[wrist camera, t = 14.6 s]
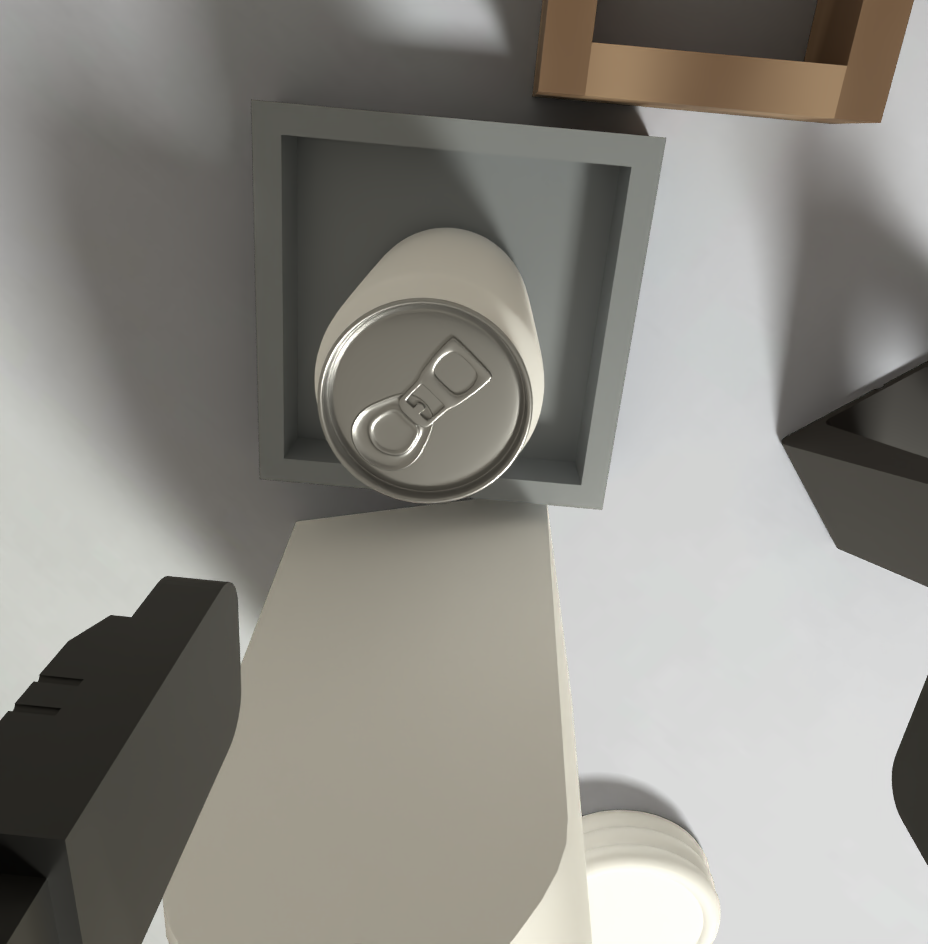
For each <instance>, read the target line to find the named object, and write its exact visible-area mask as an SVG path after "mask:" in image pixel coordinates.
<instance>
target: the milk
mask: <svg viewBox="0 0 928 944" xmlns="http://www.w3.org/2000/svg"><path fill="white" fill-rule="evenodd" d="M240 668H241V704H240V712H239V718H238V723H237V727H236V731H235V734H234V738H233V741H232V743H231V746H230V748H229V751H228V753H227V755H226V757H225V759H224V762H223V764H222V766H221V768H220V771H219V773H218V775H217V777H216V779H215V782H214V784H213V786H212V788H211V791H210V793H209V795H208V797H207V799H206V802H205V804H204V806H203V808H202V811H201V813H200V815H199V817H198V819H197V822H196V824H195V826H194V828H193V831H192V833H191V835H190V837H189V839H188V842H187V844H186V846H185V848H184V851H183V853H182V855H181V857H180V859H179V862H178V864H177V866H176V868H175V871H174V873H173V875H172V877H171V879H170V882H169V884H168V886H167V888H166V891H165V893H164V895H163V907H164V917H165V927H166V937H167V939H168V941H169V944H592V934H591V922H590V910H589V898H588V886H587V874H586V862H585V850H584V838H583V826H582V814H581V802H580V790H579V778H578V766H577V754H576V742H575V730H574V718H573V706H572V697H571V689H570V681H569V673H568V665H567V657H566V649H565V641H564V633H563V625H562V617H561V609H560V601H559V593H558V585H557V577H556V569H555V561H554V553H553V545H552V537H551V529H550V521H549V513H548V505H543V504H531V503H520V502H509V501H498V500H487V499H471V500H463V501H455V502H447V503H439V504H431V505H423V506H416V507H408V508H400V509H392V510H384V511H376V512H368V513H360V514H352V515H344V516H336V517H328V518H320V519H312V520H304V521H296V523H295V526H294V528H293V531H292V534H291V536H290V539H289V541H288V544H287V547H286V549H285V552H284V554H283V557H282V560H281V562H280V565H279V567H278V570H277V572H276V575H275V578H274V580H273V583H272V585H271V588H270V591H269V593H268V596H267V598H266V601H265V604H264V606H263V609H262V611H261V614H260V617H259V619H258V622H257V624H256V627H255V630H254V632H253V635H252V637H251V640H250V643H249V645H248V648H247V650H246V653H245V656H244V658H243V661H242V663H241V666H240Z"/></svg>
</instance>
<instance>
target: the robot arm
mask: <svg viewBox="0 0 928 944" xmlns="http://www.w3.org/2000/svg"><path fill="white" fill-rule="evenodd" d="M240 704H241V668H240V643H239V619H238V598H237V592H236V588H235V586H234V584H233V583H231V582H222V581H212V580H202V579H192V578H182V577H172V576H166V577H164V578H162V579H161V580H160V581H159V582H158V583H157V585H156V586H155V587H154V589H153V590H152V591H151V592H150V594H149V595H148V596H147V598H146V599H145V600H144V602H143V603H142V604H141V605H140V607H139V608H138V609H137V611H136V612H135V613H134V615H133V616H132V617H124V616H114V615H110V616H108V617H107V618H105V619H104V620H102V621H100V622H99V623H97V624H95V625H94V626H92V627H91V628H89V629H87V630H86V631H84V632H82V633H81V634H79V635H78V636H76V637H74V638H73V639H71V640H69V641H68V642H67V643H66V644H65V646H64V647H63V648H62V649H61V650H60V651H59V653H58V654H57V655H56V656H55V657H54V658H53V660H52V661H51V662H50V663H49V664H48V665H47V667H46V668H45V669H44V670H43V671H42V672H41V674H40V677H39V680H38V682H33V683H32V684H31V685H30V686H29V688H28V689H27V690H26V691H25V692H24V693H23V695H22V696H21V697H20V698H19V699H18V700H17V702H16V703H15V708H14V710H13V711H8V712H7V713H6V714H5V716H4V717H3V718H2V719H1V720H0V944H142V942H143V939H144V937H145V935H146V933H147V931H148V928H149V926H150V924H151V922H152V919H153V917H154V915H155V913H156V911H157V908H158V906H159V904H160V902H161V899H162V897H163V895H164V893H165V891H166V888H167V886H168V884H169V882H170V879H171V877H172V875H173V873H174V871H175V868H176V866H177V864H178V862H179V859H180V857H181V855H182V853H183V851H184V848H185V846H186V844H187V842H188V839H189V837H190V835H191V833H192V831H193V828H194V826H195V824H196V822H197V819H198V817H199V815H200V813H201V811H202V808H203V806H204V804H205V802H206V799H207V797H208V795H209V793H210V791H211V788H212V786H213V784H214V782H215V779H216V777H217V775H218V773H219V771H220V768H221V766H222V764H223V762H224V759H225V757H226V755H227V753H228V751H229V748H230V746H231V743H232V741H233V738H234V734H235V731H236V727H237V723H238V718H239V712H240ZM892 789H893V796H894V801H895V804H896V808H897V810H898V813H899V815H900V817H901V819H902V821H903V823H904V825H905V826H906V828H907V830H908V832H909V833H910V835H911V837H912V839H913V840H914V842H915V844H916V846H917V848H918V849H919V851H920V853H921V855H922V856H923V858H924V860H925V862H926V863H927V865H928V676H927V678H926V681H925V683H924V686H923V688H922V691H921V693H920V696H919V698H918V701H917V703H916V706H915V708H914V711H913V713H912V716H911V718H910V721H909V723H908V726H907V728H906V731H905V733H904V736H903V738H902V741H901V744H900V746H899V749H898V751H897V754H896V756H895V759H894V763H893V768H892Z"/></svg>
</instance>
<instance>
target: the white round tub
mask: <svg viewBox="0 0 928 944" xmlns="http://www.w3.org/2000/svg"><path fill="white" fill-rule="evenodd" d="M582 826H583V838H584V850H585V862H586V874H587V886H588V898H589V910H590V922H591V934H592V944H712V942H713V941H714V939H715V937H716V935H717V932H718V929H719V925H720V914H721V911H720V902H719V899H718V895H717V893H716V891H715V886H714V881H713V878H712V875H711V873H710V870H709V864H708V861H707V858H706V856H705V854H704V852H703V850H702V849H701V847H700V846H699V844H698V843H697V842H696V840H695V839H694V838H693V837H692V836H691V835H690V834H689V833H688V832H687V831H686V830H684V829H683V828H681V827H680V826H679V825H677V824H675V823H673V822H671V821H669V820H667V819H665V818H662V817H660V816H657V815H653V814H650V813H646V812H640V811H631V810H609V811H602V812H596V813H592V814H588V815H585V816H582Z"/></svg>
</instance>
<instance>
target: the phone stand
mask: <svg viewBox="0 0 928 944" xmlns="http://www.w3.org/2000/svg"><path fill="white" fill-rule="evenodd" d="M781 443H782V445H783V447H784V449H785V451H786V452H787V454H788V456H789V458H790V460H791V462H792V464H793V466H794V468H795V469H796V471H797V473H798V475H799V477H800V479H801V481H802V483H803V485H804V486H805V488H806V490H807V492H808V494H809V496H810V498H811V500H812V502H813V504H814V505H815V507H816V509H817V511H818V513H819V515H820V517H821V519H822V521H823V522H824V524H825V526H826V528H827V530H828V532H829V534H830V536H831V538H832V539H833V541H834V543H835V545H836V547H837V548H838V549H840V550H843V551H845V552H847V553H850V554H852V555H854V556H857V557H859V558H861V559H864V560H866V561H868V562H871V563H873V564H875V565H878V566H880V567H882V568H885V569H887V570H890V571H892V572H894V573H897V574H899V575H901V576H904V577H906V578H908V579H911V580H913V581H915V582H918V583H920V584H922V585H925V586H927V587H928V361H927V362H925V363H923V364H921V365H919V366H917V367H916V368H914V369H912V370H910V371H908V372H906V373H904V374H903V375H901V376H899V377H897V378H895V379H893V380H891V381H889V382H888V383H886V384H884V387H883V388H881V389H874V390H873V391H871V392H869V393H867V394H865V395H863V396H861V397H859V398H858V399H856V400H854V401H852V402H850V403H848V404H846V405H844V406H843V407H841V408H839V409H837V410H835V411H833V412H831V413H829V414H828V415H826V416H824V417H822V418H820V419H818V420H816V421H814V422H813V423H811V424H809V425H807V426H805V427H803V428H801V429H799V430H798V431H796V432H794V433H792V434H790V435H788V436H786V437H785V438H784V439H783V440H782V441H781Z"/></svg>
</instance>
